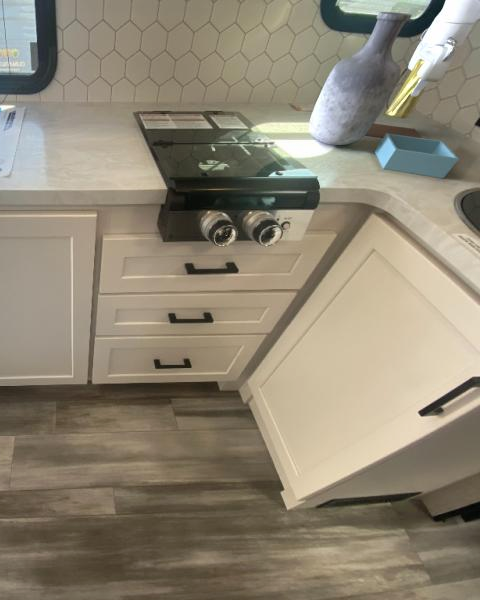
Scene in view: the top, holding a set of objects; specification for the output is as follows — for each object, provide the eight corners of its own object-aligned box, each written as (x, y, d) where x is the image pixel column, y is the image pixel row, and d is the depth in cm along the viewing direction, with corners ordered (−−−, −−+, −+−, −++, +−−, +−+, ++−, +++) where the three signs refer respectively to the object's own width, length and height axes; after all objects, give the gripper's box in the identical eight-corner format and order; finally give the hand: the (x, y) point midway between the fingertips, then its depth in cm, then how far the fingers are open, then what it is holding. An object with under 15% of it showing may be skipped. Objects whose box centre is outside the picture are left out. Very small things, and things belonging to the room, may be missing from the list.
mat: (414, 130, 114) (414, 128, 113) (425, 144, 104) (426, 142, 104) (352, 121, 118) (353, 120, 118) (358, 134, 109) (358, 133, 109)
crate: (429, 159, 95) (442, 141, 92) (443, 178, 87) (459, 158, 83) (374, 151, 99) (385, 133, 95) (382, 168, 90) (395, 149, 87)
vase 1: (352, 136, 108) (420, 12, 87) (366, 155, 97) (448, 18, 76) (297, 130, 111) (350, 9, 90) (304, 147, 100) (367, 14, 79)
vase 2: (385, 111, 111) (416, 57, 101) (408, 114, 108) (442, 60, 98) (384, 115, 107) (417, 60, 97) (408, 119, 105) (443, 63, 95)
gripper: (473, 41, 86) (432, 103, 96) (448, 32, 100) (414, 87, 109) (443, 39, 88) (406, 100, 98) (422, 30, 101) (391, 84, 111)
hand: (410, 93), depth 104 cm, fingers closed on vase 2, 5 cm apart
